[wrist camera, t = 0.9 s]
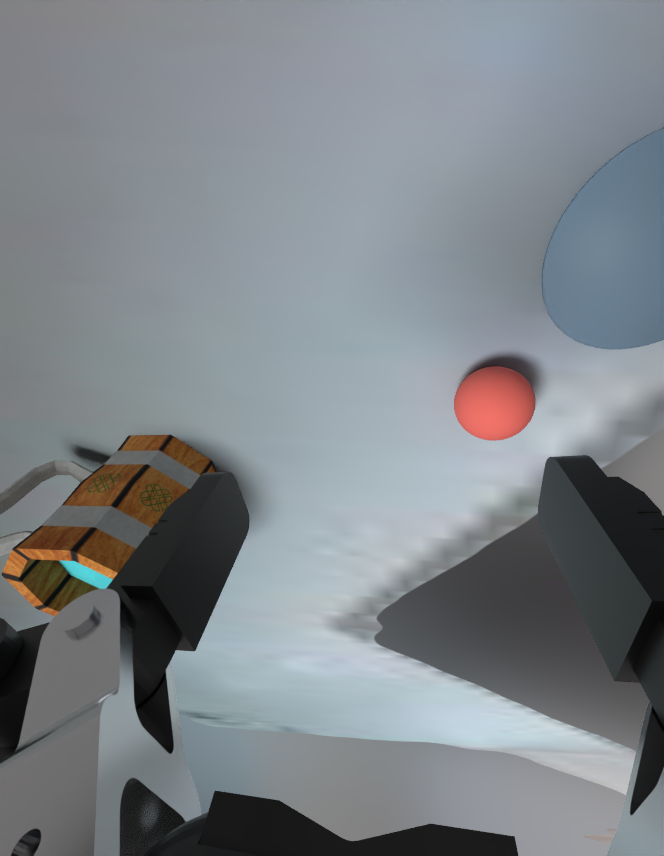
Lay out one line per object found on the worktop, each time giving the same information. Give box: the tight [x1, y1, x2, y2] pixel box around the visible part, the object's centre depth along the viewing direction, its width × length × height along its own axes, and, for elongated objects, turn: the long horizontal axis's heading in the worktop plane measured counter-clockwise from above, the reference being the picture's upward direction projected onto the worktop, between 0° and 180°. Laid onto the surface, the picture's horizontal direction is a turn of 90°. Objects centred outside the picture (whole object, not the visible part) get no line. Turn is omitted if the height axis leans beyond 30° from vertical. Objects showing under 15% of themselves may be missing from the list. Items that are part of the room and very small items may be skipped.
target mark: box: [542, 128, 664, 349], centre depth 24 cm, size 14×14×1 cm
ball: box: [454, 366, 535, 440], centre depth 29 cm, size 6×6×6 cm
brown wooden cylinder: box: [0, 435, 216, 616], centre depth 36 cm, size 20×14×15 cm
